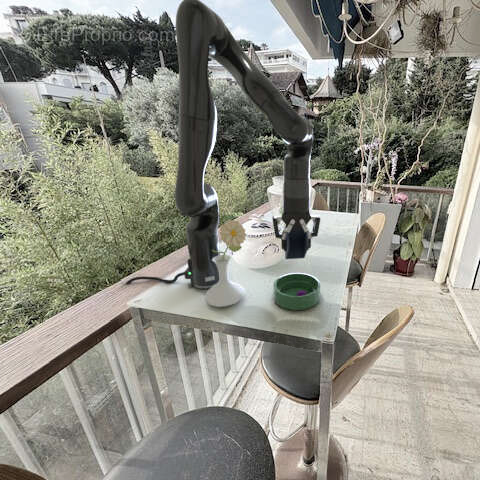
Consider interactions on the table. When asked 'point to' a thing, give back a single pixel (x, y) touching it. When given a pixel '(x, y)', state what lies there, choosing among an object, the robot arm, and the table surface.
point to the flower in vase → (226, 289)
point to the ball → (301, 293)
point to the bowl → (296, 291)
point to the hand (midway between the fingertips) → (296, 249)
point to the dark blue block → (296, 244)
